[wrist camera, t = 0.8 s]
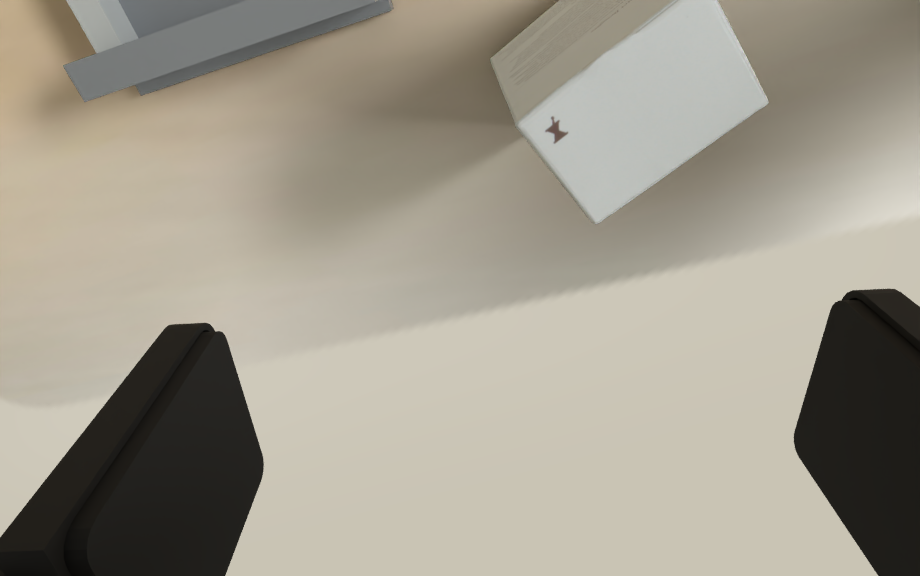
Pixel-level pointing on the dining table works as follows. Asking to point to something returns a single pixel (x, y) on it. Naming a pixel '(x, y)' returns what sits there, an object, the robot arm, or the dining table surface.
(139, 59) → the rest
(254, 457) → the robot arm
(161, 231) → the dining table surface
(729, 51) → the skincare box
